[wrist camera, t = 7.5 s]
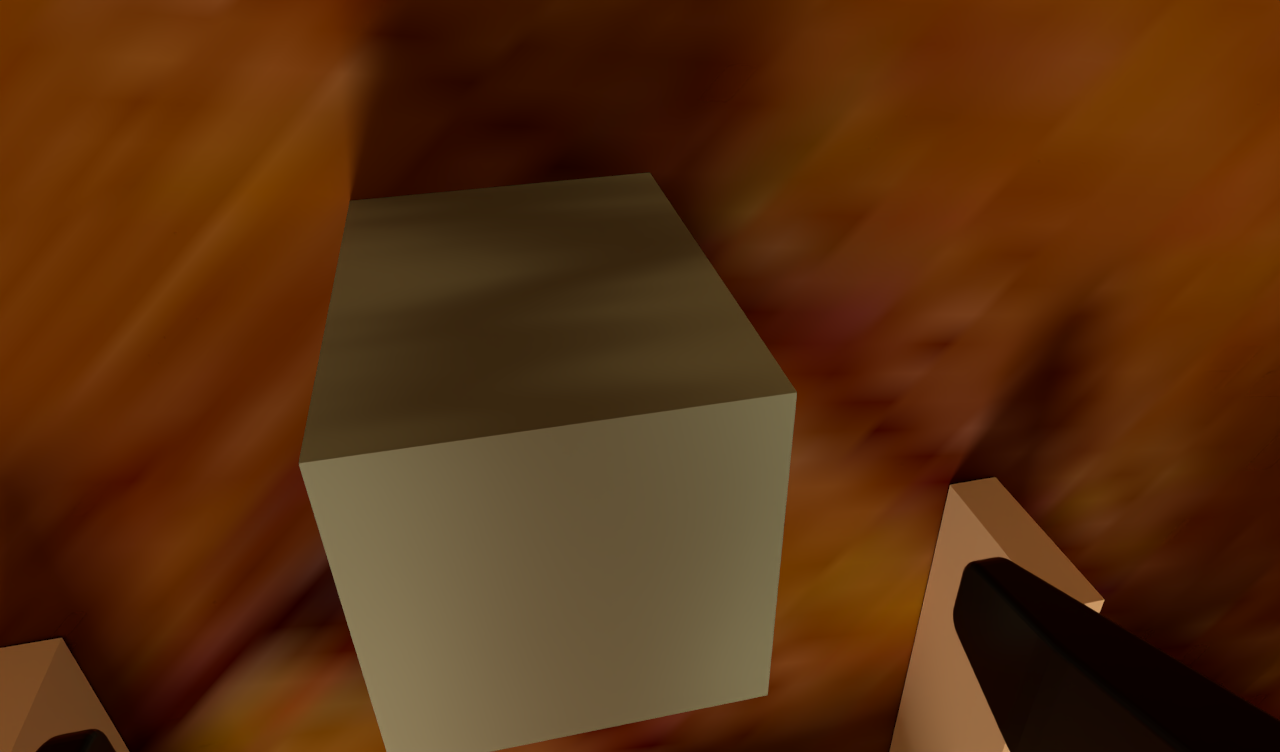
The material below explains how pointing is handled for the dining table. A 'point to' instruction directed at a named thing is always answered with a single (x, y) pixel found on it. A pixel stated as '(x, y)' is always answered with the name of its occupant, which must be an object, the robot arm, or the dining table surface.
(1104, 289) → the dining table surface
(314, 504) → the block
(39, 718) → the wooden frame
